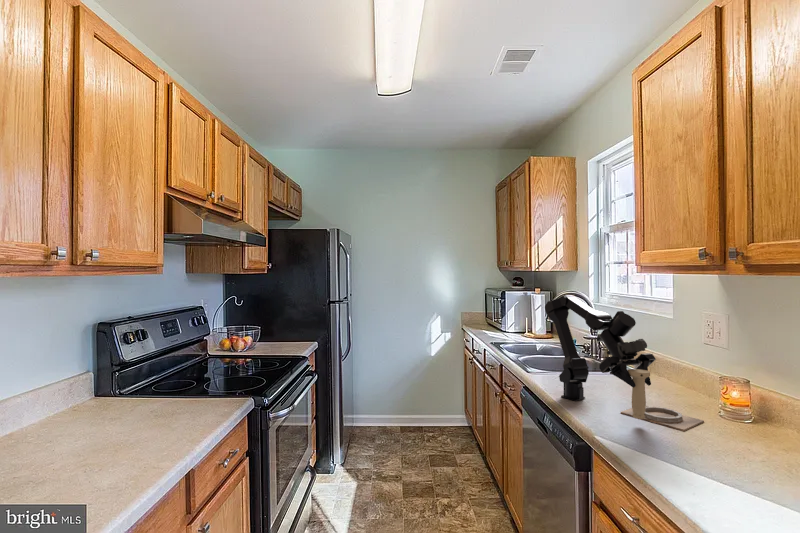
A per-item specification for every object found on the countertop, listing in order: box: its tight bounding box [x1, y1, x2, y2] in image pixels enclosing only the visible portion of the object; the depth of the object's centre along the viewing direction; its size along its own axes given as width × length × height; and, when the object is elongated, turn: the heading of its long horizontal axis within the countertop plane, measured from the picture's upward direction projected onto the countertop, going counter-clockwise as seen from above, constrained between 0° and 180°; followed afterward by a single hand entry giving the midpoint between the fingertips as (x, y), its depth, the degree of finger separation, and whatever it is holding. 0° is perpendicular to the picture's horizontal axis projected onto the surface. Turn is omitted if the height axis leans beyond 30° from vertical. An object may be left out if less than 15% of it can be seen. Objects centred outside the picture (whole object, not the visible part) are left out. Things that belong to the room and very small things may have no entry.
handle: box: [627, 368, 651, 420], centre depth 139 cm, size 5×6×15 cm
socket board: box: [620, 405, 705, 432], centre depth 147 cm, size 20×14×2 cm
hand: (642, 385), depth 138 cm, fingers closed on handle, 6 cm apart
